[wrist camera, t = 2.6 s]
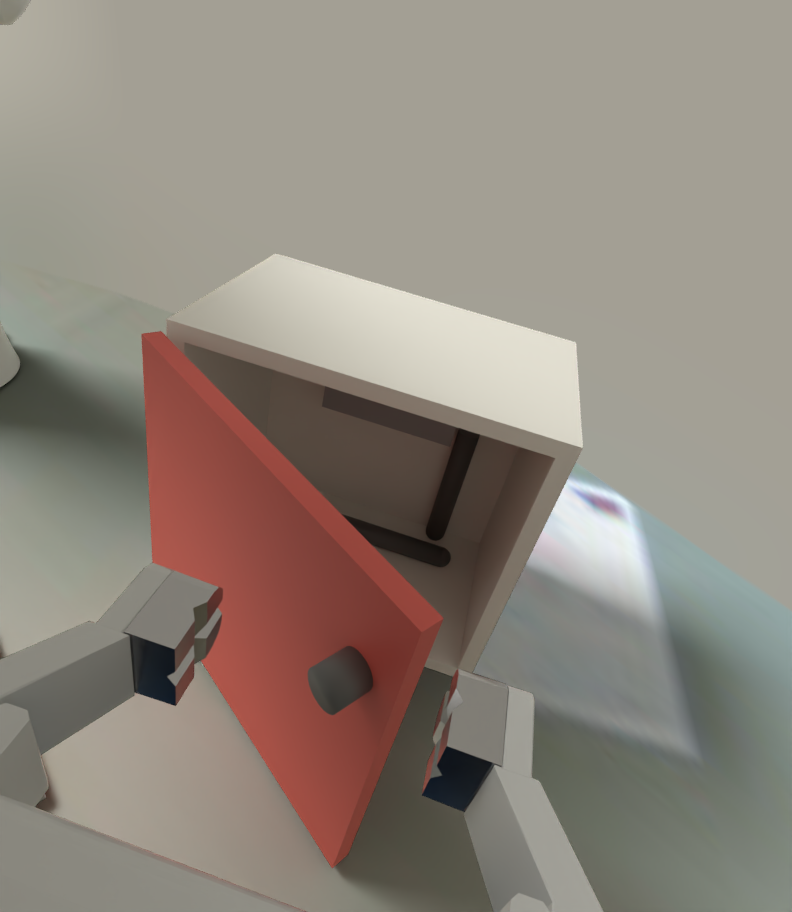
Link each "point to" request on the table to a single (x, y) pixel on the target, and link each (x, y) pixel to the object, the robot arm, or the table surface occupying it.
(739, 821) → the table surface
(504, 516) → the cabinet
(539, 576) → the table surface
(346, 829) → the door
